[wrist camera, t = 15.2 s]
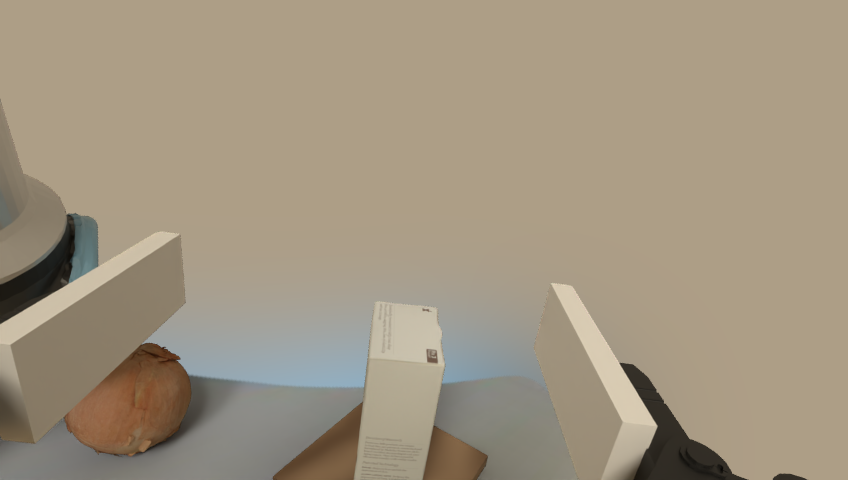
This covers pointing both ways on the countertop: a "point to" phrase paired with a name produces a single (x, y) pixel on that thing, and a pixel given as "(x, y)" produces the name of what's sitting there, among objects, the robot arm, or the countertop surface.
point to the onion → (133, 404)
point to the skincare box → (400, 392)
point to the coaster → (337, 449)
